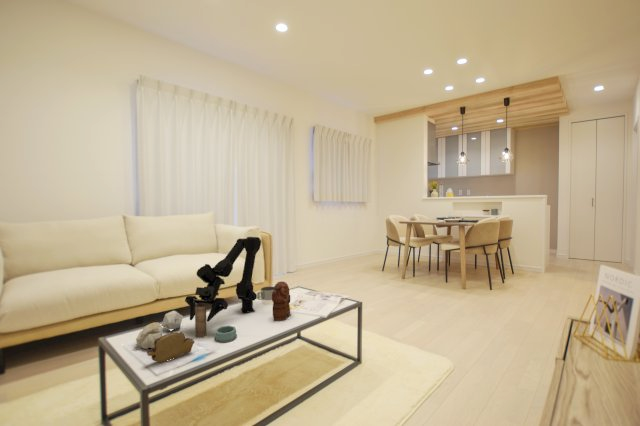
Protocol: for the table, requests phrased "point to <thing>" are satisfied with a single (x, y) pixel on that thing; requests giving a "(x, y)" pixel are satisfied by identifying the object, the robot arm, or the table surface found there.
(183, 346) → the wooden carving
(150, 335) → the fossil replica
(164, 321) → the die
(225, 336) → the teal bowl
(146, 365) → the table surface
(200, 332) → the walnut peg
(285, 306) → the wooden figurine
